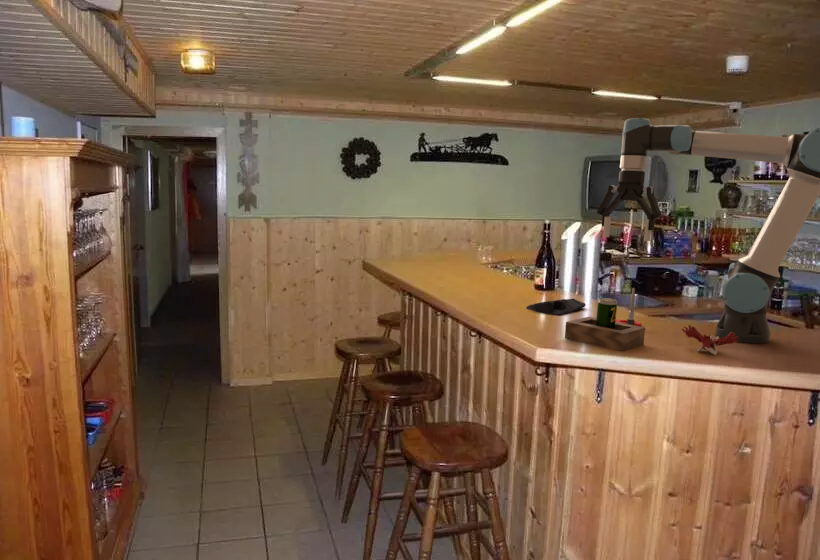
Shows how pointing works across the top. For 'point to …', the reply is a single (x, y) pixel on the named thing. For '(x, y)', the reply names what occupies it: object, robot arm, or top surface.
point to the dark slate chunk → (557, 306)
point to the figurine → (710, 339)
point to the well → (605, 334)
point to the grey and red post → (631, 312)
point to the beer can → (606, 313)
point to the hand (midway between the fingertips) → (626, 239)
